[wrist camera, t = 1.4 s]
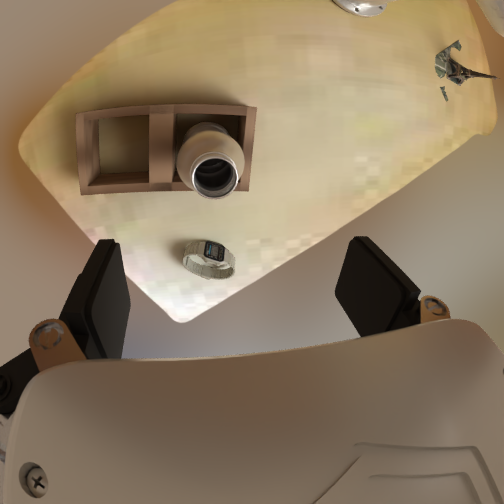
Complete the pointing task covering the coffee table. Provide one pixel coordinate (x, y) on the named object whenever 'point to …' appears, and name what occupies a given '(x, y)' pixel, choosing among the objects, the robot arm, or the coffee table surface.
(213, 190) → the plastic bottle
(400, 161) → the coffee table surface
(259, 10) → the coffee table surface
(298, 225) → the coffee table surface
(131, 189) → the bottle rack
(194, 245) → the wristwatch
